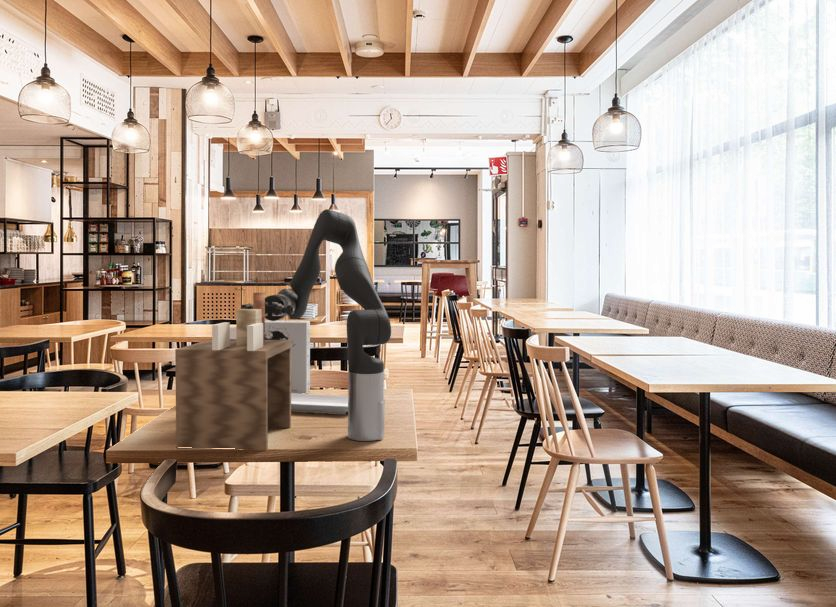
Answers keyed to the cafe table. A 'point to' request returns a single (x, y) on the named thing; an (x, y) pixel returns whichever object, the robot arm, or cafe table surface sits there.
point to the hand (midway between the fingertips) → (260, 311)
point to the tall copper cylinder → (250, 318)
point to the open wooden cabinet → (232, 394)
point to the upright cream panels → (223, 336)
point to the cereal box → (294, 349)
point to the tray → (319, 403)
